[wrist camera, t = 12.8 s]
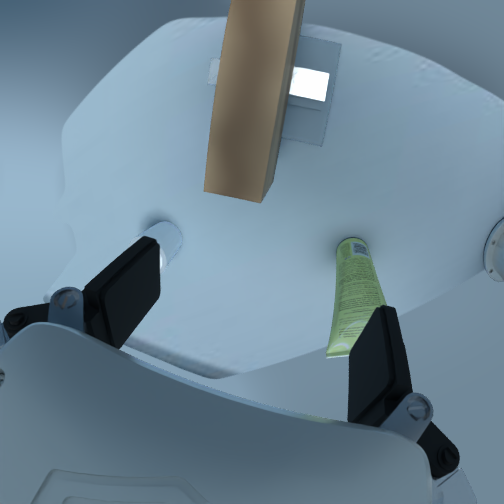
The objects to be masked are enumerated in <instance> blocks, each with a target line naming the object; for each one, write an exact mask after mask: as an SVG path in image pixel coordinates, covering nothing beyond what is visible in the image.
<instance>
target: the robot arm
mask: <svg viewBox="0 0 504 504" xmlns="http://www.w3.org/2000/svg"><path fill="white" fill-rule="evenodd" d="M484 266H485V270H486V272H487V273H488V275H489V276H490V277H491V278H492V279H493V280H496V281H500V282H503V281H504V219H502V220H501V221H500V222H499V223H498V224H497V225H496V227H495V228H494V229H493V231H492V232H491V234H490V236H489V238H488V240H487V243H486V246H485V251H484ZM159 296H160V244H159V243H157V240H156V239H154V238H151V237H148V236H142V237H141V238H140V239H139V240H137V241H136V242H135V243H134V244H133V245H131V246H130V247H129V248H128V249H127V250H125V251H124V252H123V253H122V254H121V255H120V256H118V257H117V258H116V259H115V260H114V261H113V262H111V263H110V264H109V265H108V266H107V267H106V268H105V269H103V270H102V271H101V272H100V273H99V274H98V275H97V276H96V277H95V278H93V279H92V280H91V281H90V282H89V283H88V284H87V285H86V286H85V289H84V290H83V291H80V290H79V289H77V288H74V287H64V288H61V289H59V290H57V291H56V292H55V293H54V294H53V295H52V296H51V299H50V303H45V304H39V305H33V306H27V307H21V308H16V309H13V310H12V311H10V312H9V313H8V314H7V315H6V317H5V318H4V322H3V323H1V321H0V504H477V500H476V497H475V494H474V492H473V490H472V488H471V486H470V484H469V482H468V480H467V478H466V475H465V473H464V471H463V470H462V468H460V469H458V467H457V466H458V464H459V460H460V456H459V452H458V449H457V448H456V446H455V445H454V444H453V443H452V442H451V441H450V440H449V439H448V438H447V437H446V436H445V435H444V434H443V433H442V432H441V431H440V430H439V429H438V428H437V427H436V425H434V423H432V421H431V420H432V417H433V407H432V404H431V402H430V401H429V399H428V398H427V397H425V396H424V395H423V394H420V393H413V390H412V384H411V378H410V371H409V366H408V360H407V355H406V350H405V345H404V343H403V339H402V335H401V330H400V326H399V322H398V317H397V313H396V309H395V308H394V307H390V306H386V305H381V306H380V307H376V309H375V310H374V312H373V314H372V315H371V317H370V319H369V321H368V322H367V324H366V326H365V327H364V329H363V331H362V332H361V334H360V336H359V337H358V339H357V340H356V342H355V344H354V345H353V347H352V348H351V350H350V353H349V394H348V419H347V420H348V422H343V421H338V420H332V419H327V418H322V417H317V416H312V415H307V414H303V413H298V412H294V411H289V410H285V409H281V408H277V407H273V406H269V405H266V404H262V403H258V402H255V401H251V400H248V399H245V398H241V397H238V396H234V395H231V394H228V393H225V392H222V391H219V390H216V389H213V388H210V387H208V386H205V385H201V384H199V383H196V382H194V381H191V380H188V379H186V378H183V377H180V376H178V375H175V374H173V373H170V372H168V371H165V370H163V369H161V368H158V367H156V366H154V365H151V364H149V363H147V362H144V361H142V360H140V359H138V358H135V357H134V356H131V355H129V354H127V353H125V352H123V351H121V350H119V349H120V348H121V347H122V345H123V344H124V343H125V341H126V340H127V339H128V337H129V336H130V335H131V333H132V332H133V331H134V330H135V328H136V327H137V326H138V324H139V323H140V322H141V320H142V319H143V318H144V317H145V315H146V314H147V313H148V311H149V310H150V309H151V308H152V306H153V305H154V304H155V303H156V301H157V300H158V299H159Z"/></svg>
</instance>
